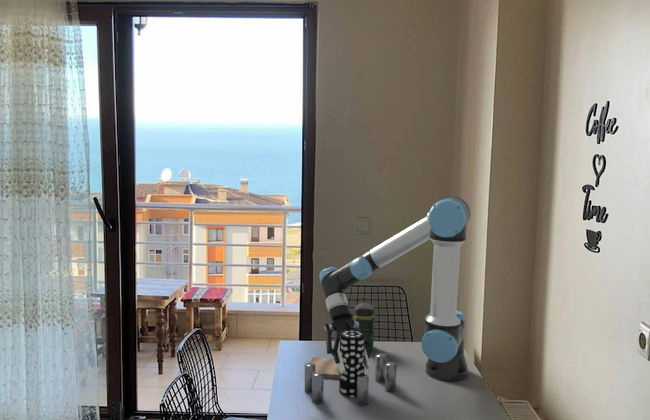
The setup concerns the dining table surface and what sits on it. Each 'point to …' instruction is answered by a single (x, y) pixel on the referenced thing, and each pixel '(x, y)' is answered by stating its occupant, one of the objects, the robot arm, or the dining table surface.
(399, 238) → the robot arm
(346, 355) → the spotted tube
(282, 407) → the dining table surface
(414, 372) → the dining table surface
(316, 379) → the spacer posts
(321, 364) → the square wooden board
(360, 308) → the coffee jar
